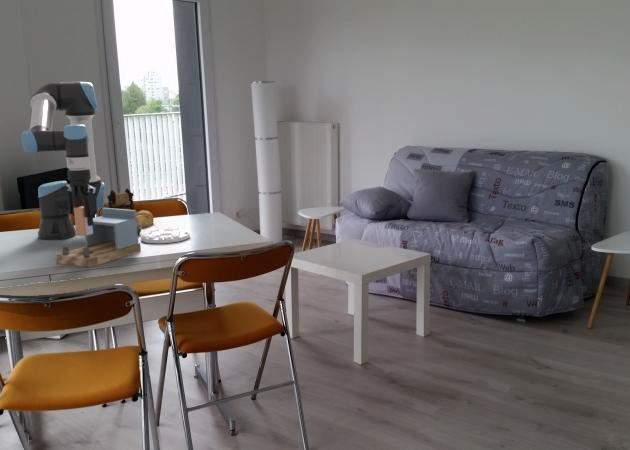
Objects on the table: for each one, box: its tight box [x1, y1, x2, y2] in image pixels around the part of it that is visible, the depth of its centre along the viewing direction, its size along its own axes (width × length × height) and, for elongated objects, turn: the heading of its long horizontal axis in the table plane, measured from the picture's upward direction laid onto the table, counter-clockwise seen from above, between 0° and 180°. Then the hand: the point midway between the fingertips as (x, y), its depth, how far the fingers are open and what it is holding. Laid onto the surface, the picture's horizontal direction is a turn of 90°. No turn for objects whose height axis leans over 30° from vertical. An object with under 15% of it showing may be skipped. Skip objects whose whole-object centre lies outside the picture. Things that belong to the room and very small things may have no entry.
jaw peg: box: [73, 206, 91, 237], centre depth 226 cm, size 4×4×10 cm
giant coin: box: [140, 227, 190, 244], centre depth 263 cm, size 20×20×3 cm
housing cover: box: [84, 207, 139, 250], centre depth 239 cm, size 16×11×13 cm
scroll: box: [107, 188, 142, 237], centre depth 269 cm, size 15×15×20 cm
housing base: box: [55, 241, 142, 268], centre depth 234 cm, size 16×26×6 cm, turn 154°
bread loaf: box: [136, 209, 154, 229], centre depth 293 cm, size 21×10×8 cm, turn 8°
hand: (84, 233), depth 227 cm, fingers closed on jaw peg, 4 cm apart
